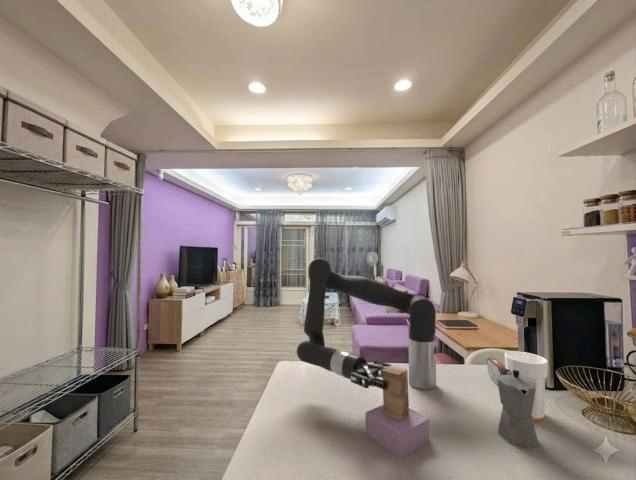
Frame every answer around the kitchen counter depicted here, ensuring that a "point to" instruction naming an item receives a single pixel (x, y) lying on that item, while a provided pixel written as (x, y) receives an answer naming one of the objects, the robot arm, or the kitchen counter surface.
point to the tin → (495, 368)
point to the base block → (397, 430)
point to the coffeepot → (517, 409)
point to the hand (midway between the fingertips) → (394, 380)
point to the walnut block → (396, 393)
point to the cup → (530, 376)
